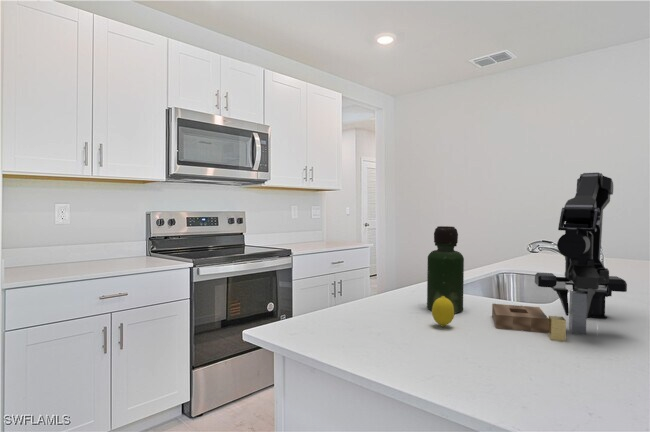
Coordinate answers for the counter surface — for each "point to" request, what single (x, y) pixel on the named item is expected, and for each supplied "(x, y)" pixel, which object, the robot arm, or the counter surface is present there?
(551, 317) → the short pin
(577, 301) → the long pin
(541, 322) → the socket block
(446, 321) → the lemon
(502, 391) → the counter surface
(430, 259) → the dark green bottle
